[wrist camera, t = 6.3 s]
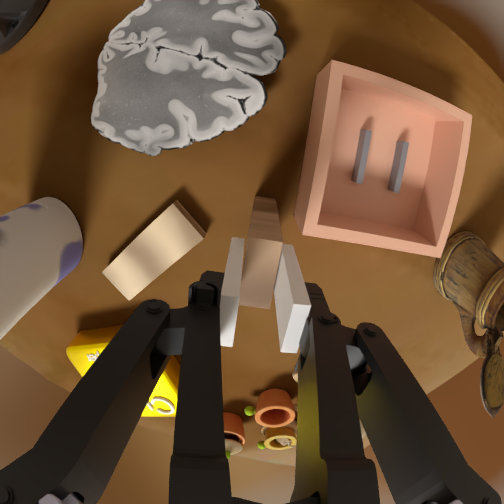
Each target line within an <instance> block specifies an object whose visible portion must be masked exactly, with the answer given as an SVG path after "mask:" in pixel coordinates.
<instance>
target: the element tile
mask: <svg viewBox="0 0 504 504" xmlns="http://www.w3.org/2000/svg"><path fill="white" fill-rule="evenodd" d="M122 326H123V325H117V326H111V327H104V328H97V329H91V330H83V331H80V332H79V333H78V334H77V335H76V337H75V338H74V339H73V341H72V342H71V343H70V345H69V346H68V347H67V349H66V353H67V356H68V357H69V359H70V361H71V362H72V364H73V365H74V366H75V368H76V369H77V370H78V372H79V373H80V375H81V376H82V377H83V376H84V375H85V373H86V372H87V371H88V369H89V368H90V367H91V365H92V364H93V363H94V361H95V360H96V359H97V358H98V356H99V355H100V354H101V352H102V351H103V350H104V349H105V347H106V346H107V345H108V343H109V342H110V341H111V340H112V338H113V337H114V336H115V335H116V333H117V332H118V331H119V330H120V328H121V327H122ZM179 375H180V365H179V363H178V361H177V359H176V358H175V356H174V355H171V358H170V360H169V362H168V364H167V366H166V368H165V370H164V372H163V374H162V376H161V377H160V379H159V381H158V383H157V385H156V387H155V389H154V391H153V393H152V395H151V397H150V399H149V401H148V403H147V405H146V407H145V409H144V411H143V413H142V415H141V417H176V406H177V395H178V384H179Z"/></svg>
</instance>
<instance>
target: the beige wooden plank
mask: <svg viewBox="0 0 504 504" xmlns="http://www.w3.org/2000/svg"><path fill="white" fill-rule="evenodd" d="M205 235H206V232H205V231H204V230H203V229H202V228H201V227H200V225H199V224H198V223H197V222H196V221H195V220H194V219H193V217H192V216H191V215H190V214H189V213H188V212H187V211H186V209H185V208H184V207H183V206H182V205H181V204H180V203H179V201H178V200H176V201H175V202H174V203H173V204H172V205H170V206H169V207H168V208H167V209H166V210H165V211H164V212H163V213H162V214H161V215H160V216H159V217H157V218H156V219H155V220H154V221H153V222H152V223H151V224H150V225H149V226H148V227H147V228H146V229H145V230H144V231H143V232H142V233H141V234H140V235H139V236H138V237H137V238H136V239H134V240H133V241H132V242H131V243H130V244H129V245H128V246H127V247H126V248H125V249H124V250H123V251H122V252H121V253H120V255H119V256H118V257H117V258H116V259H115V260H114V261H113V262H112V263H111V264H110V265H109V266H108V267H107V268H106V269H105V270H104V271H103V272H102V273H103V274H104V275H105V276H106V277H107V278H108V279H109V280H110V282H111V283H112V284H113V285H114V286H115V287H116V288H117V289H118V290H119V291H120V292H121V293H122V294H123V295H124V296H125V297H126V298H127V299H128V300H129V301H130V300H131V299H132V298H133V297H134V296H135V295H137V294H138V293H139V292H140V291H141V290H142V289H144V288H145V287H146V286H147V285H148V284H149V283H151V282H152V281H153V280H154V279H155V278H157V277H158V276H159V275H160V274H161V273H163V272H164V271H165V270H166V269H167V268H169V267H170V266H171V265H172V264H173V263H175V262H176V261H177V260H178V259H179V258H181V257H182V256H183V255H184V254H185V253H187V252H188V251H189V250H190V249H192V248H193V247H194V246H195V245H197V244H198V243H199V242H200V241H201V240H203V239H204V237H205Z"/></svg>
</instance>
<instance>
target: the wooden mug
mask: <svg viewBox="0 0 504 504" xmlns="http://www.w3.org/2000/svg"><path fill="white" fill-rule="evenodd" d="M433 279H434V285H435V287H436V289H437V290H438V292H439V293H440V294H441V295H442V296H443V297H444V298H445V299H447V300H449V301H452V302H453V303H454V304H455V306H456V308H457V309H458V311H459V314H460V318H461V322H462V327H463V332H464V336H465V340H466V342H467V344H468V346H469V348H470V350H471V351H472V352H473V353H474V354H475V355H477V356H479V357H481V358H485V359H484V361H483V364H482V367H481V374H480V393H481V398H482V402H483V405H484V407H485V409H486V411H487V412H488V413H489V415H490V416H492V417H494V416H495V415H496V414H497V413H498V412H499V410H500V408H501V406H502V405H503V402H504V360H503V358H502V355H501V354H500V350H499V344H500V342H501V340H502V338H503V333H502V331H504V263H503V262H502V261H501V260H500V259H499V258H498V257H497V256H496V255H495V254H494V253H493V252H492V251H491V250H490V249H489V248H487V247H486V245H485V243H484V242H483V241H482V240H481V239H480V238H479V237H478V236H477V235H476V234H474V233H472V232H470V231H462V232H459V233H457V234H455V235H454V236H452V237H450V238H449V239H448V240H447V242H446V244H445V247H444V250H443V253H442V256H441V258H437V259H436V263H435V267H434V275H433ZM475 320H477V322H478V324H479V326H480V327H481V328H482V329H484V328H487V330H486V332H485V334H484V335H483V336H477V335H476V333H475V329H474V324H475Z"/></svg>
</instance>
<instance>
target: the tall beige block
mask: <svg viewBox="0 0 504 504" xmlns="http://www.w3.org/2000/svg"><path fill="white" fill-rule="evenodd" d="M282 244H283V240H282V233H281V227H280V221H279V214H278V208H277V202H276V199H274V198H268V197H261V196H255V199H254V205H253V210H252V215H251V221H250V226H249V231H248V237H247V244H246V251H245V258H244V265H243V272H242V279H241V286H240V297H239V304H238V305H244V306H251V307H258V308H265V309H270V305H271V300H272V295H273V290H274V285H275V280H276V275H277V270H278V265H279V260H280V255H281V249H282Z"/></svg>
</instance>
